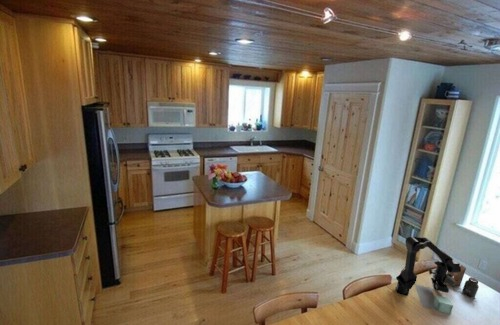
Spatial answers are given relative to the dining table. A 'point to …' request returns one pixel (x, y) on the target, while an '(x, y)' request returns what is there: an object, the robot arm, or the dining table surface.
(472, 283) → the supplement bottle
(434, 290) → the slat
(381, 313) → the dining table surface
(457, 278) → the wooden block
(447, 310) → the end cap
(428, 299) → the mat
